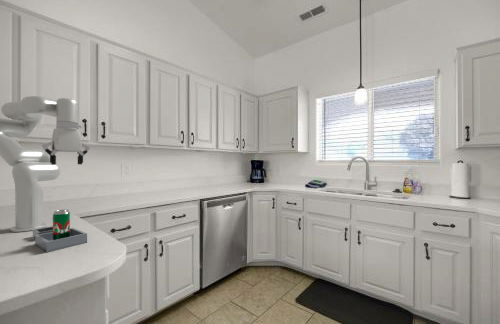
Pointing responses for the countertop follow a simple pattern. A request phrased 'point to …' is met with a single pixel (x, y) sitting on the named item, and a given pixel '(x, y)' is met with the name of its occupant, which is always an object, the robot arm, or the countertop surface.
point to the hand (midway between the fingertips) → (67, 164)
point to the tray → (60, 240)
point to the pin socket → (42, 231)
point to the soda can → (61, 224)
